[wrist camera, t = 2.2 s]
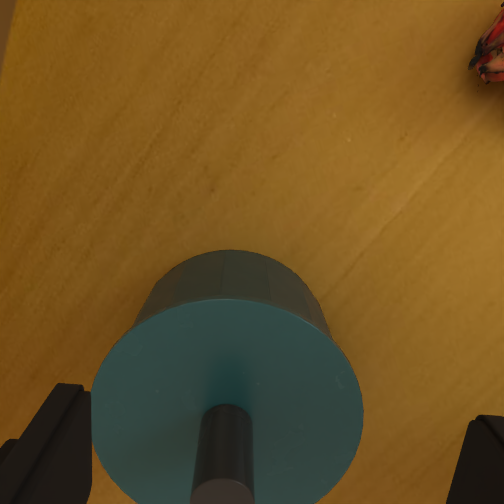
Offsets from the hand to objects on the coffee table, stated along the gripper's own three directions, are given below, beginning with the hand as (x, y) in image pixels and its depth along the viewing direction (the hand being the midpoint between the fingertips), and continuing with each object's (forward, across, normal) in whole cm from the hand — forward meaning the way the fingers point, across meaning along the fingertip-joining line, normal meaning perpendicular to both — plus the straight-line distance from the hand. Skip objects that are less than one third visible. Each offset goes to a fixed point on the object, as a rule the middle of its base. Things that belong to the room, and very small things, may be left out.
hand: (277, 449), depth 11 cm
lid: (+13, +1, +10) cm, 17 cm away
